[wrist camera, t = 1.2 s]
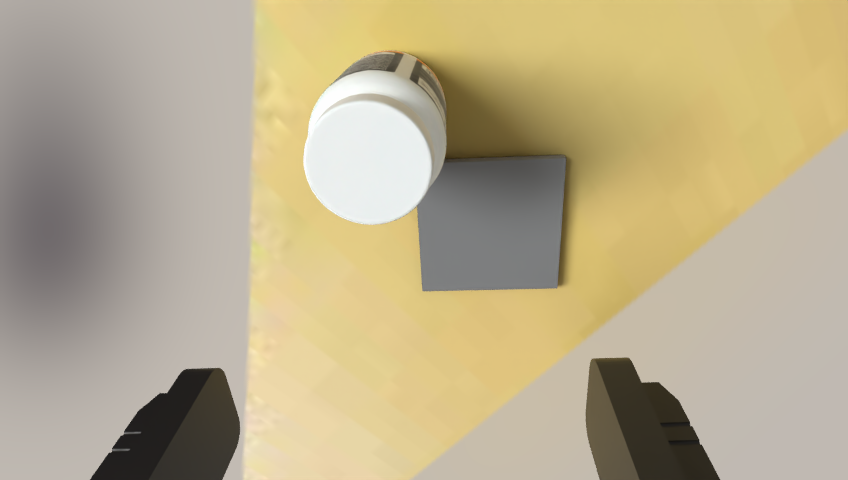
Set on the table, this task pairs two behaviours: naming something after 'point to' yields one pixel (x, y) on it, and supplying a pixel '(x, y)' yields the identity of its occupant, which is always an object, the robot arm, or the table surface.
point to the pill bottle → (377, 138)
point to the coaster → (493, 224)
